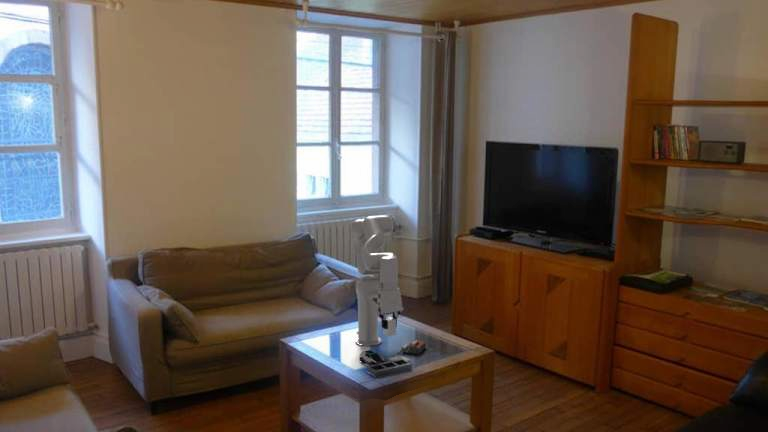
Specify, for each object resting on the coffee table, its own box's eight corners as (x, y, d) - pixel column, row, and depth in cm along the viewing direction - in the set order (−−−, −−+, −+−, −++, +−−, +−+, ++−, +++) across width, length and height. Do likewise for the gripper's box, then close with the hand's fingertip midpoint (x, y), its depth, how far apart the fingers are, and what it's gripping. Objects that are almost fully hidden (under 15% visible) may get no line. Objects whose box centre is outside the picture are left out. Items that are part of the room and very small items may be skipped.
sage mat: (388, 359, 304) (388, 358, 304) (401, 356, 308) (401, 355, 308) (396, 364, 298) (396, 362, 298) (409, 361, 302) (409, 359, 302)
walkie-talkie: (409, 345, 324) (395, 356, 305) (409, 336, 323) (395, 347, 305) (426, 347, 321) (414, 359, 302) (427, 337, 320) (414, 349, 302)
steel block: (383, 334, 290) (382, 318, 289) (390, 332, 292) (390, 316, 291) (387, 336, 286) (387, 320, 285) (395, 334, 288) (395, 318, 287)
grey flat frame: (376, 377, 282) (376, 372, 282) (366, 371, 289) (366, 366, 289) (411, 369, 292) (411, 363, 291) (401, 363, 298) (401, 358, 298)
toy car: (369, 359, 306) (369, 347, 305) (385, 366, 296) (385, 355, 295) (358, 362, 302) (358, 350, 302) (374, 369, 293) (373, 357, 292)
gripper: (376, 290, 279) (376, 333, 281) (410, 284, 287) (410, 326, 290) (367, 286, 285) (367, 328, 287) (400, 281, 294) (401, 322, 296)
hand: (389, 327), depth 289 cm, fingers closed on steel block, 4 cm apart
